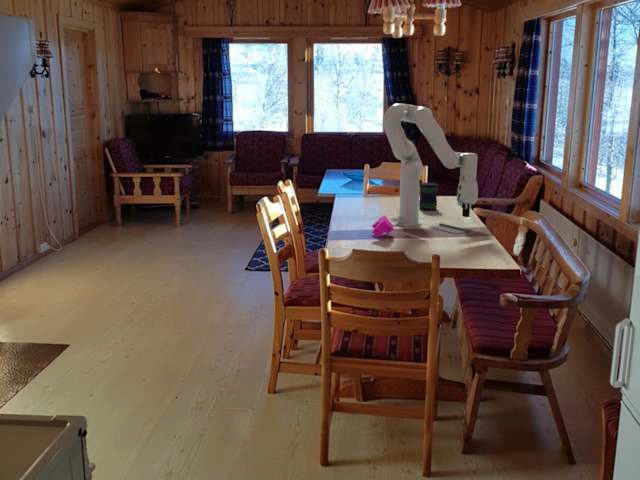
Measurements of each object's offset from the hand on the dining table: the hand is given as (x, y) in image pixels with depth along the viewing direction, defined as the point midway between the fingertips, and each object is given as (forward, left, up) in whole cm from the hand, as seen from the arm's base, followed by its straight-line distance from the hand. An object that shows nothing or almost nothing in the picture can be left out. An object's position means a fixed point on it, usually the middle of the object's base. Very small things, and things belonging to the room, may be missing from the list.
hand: (465, 216), depth 312 cm
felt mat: (-12, 0, -5) cm, 13 cm away
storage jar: (+18, +47, -6) cm, 50 cm away
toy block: (-43, +5, 0) cm, 43 cm away
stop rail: (-7, 0, -5) cm, 9 cm away
